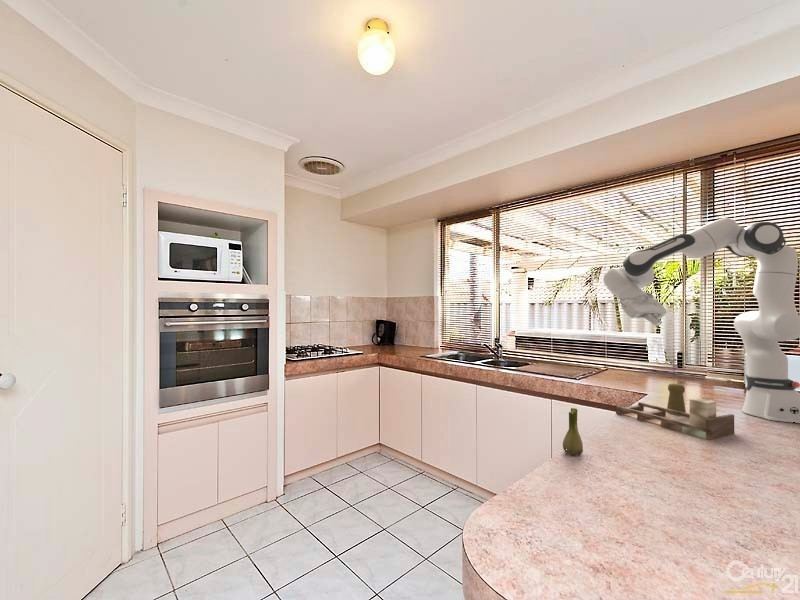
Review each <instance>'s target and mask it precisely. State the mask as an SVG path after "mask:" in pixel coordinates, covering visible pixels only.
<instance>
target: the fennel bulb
mask: <svg viewBox="0 0 800 600" xmlns="http://www.w3.org/2000/svg"><path fill="white" fill-rule="evenodd" d="M579 432H580V431H579V429H578V408H576V407H575V408H574V407H573V408H570V411H569V412H568V430H567V432H566V434H565V435H564V438H563V441H562V448H563V451H564V450H565V451H564V452H565V453H566V454H568V455H570V456H580V455H582V454H583V452H584V447H583V440H582V437H581V435H580V433H579ZM566 449H567V450H566Z"/></svg>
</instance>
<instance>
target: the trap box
mask: <svg viewBox="0 0 800 600" xmlns="http://www.w3.org/2000/svg"><path fill="white" fill-rule="evenodd" d="M645 408H649V409H653V411H646V410H644V409H645ZM667 412H669V413H668V414H670V413H673V414H672V415H674V414H677V415H676V417H670V416H667ZM615 415H619V416H626V417H628V418H632V419H635V420H637V421H639V420H640V422H647V423H650V424H654V425H657V426H660V428H661V427H662V428H665V429H669V430H673V431H676V432H679V433H683V434H687V435H690V436H694V437H698V438H702V439H705V440H708V441H711V440H714V439H715V440H716V439H720V438H722V437H726V436H727V437H728V436H732V435H735V414H733V413H729V414H725V415H724V414H723V415H719V416H716V417H713V418H708V419H706V428H704V427H700V426H696V425H692V424H690V413H689V412H686V413H684V412H680V411H675V410H671V409H667V408H665V407H661V406H657V405H653V404H650V403H645V402H637V404H636V405H630V406H629V405H628V406H625V407H624V406H620V405H615ZM677 416H678V417H677Z"/></svg>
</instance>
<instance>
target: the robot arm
mask: <svg viewBox="0 0 800 600" xmlns="http://www.w3.org/2000/svg"><path fill="white" fill-rule="evenodd" d="M786 243H787V241H786V239H785V237H784V232H783V230H782V228H781V227H780V226H779V225H778V224H776V223H775V222H769V221H760V222H755V223H753V224H751V225H748V226H746V227H742V226H740V225H739V224H738V223H737V221H735V220H733V218H732V219H731V218H729V217H723V218H720V219H716V220H714V221H711V222H709V223H706V224H704V225H703V226H700V227H698V228H696V229H694V230H692V231H690V232H687V233H682V234H679V235H675V236H672V237H670V238H667V239H665V240H663V241H661V242H659V243H656V244H654V245H651V246H649V247H646V248H642V249H637V250H634V251H630V252H629V253H628V254H627V255H625V257H624V259H622V260H623V261H622V266H623V267H611V268H609V269H608V270H607V271H606V273H605V274H604V275H603V279H602V280H603V284H604V285H605V287H606V288H607V289H608V290H609V291H610V293H611V294H612V295H614V296H615V297H616V298H617V299H618V303H619V304H620V306H621V307H620V308H621V309H622V310H623V311H624V313H625V314H626V315H627V316H628V318H631V319H645V320H646V321H648V322H650V323H651V324H652V325H653V326H660V325H661V324H663V322H662V320H661V319H662V318H663V317H665V316H666V315H667V313H668V311H667V309H666V308H665V307H664V306H663V305H662V304H661V303H660V302H659V300H657V299H655V296H654V295H653V294H652V293H649V292H647V291H644V290H643V289H642V288H645V287H648V286H649V285H651V284H652V283H653V282H654V281H655V280H654V279H655V270H654V265H655V264H656V263H658V261H661V260H663V259H665V258H668V257H670V256H673V255H675V254H678V253H679V254H683V255H684V256H686V257H688V258H691V259H701V258H703V257H707V256H710V255H711V254H713V253H715V252H717V251H718V250H721V249H723V248H725V249H727V250H729V252H730V253H731V254H733V255H735V256H738V257H741V258H742V257H746V258H747V257H753V256H754V257H755V260H756V263H757V264H756V265H757V267H756V272H755V277H754V282H753V289H752V294H753V296H754V297H755V298H756V300H757V304H758V310H750V311H745V312H743V313H740V314H738V315H737V316H736V317H735V318H734V320H733V328H734V330H735V331H736V332H737V333H738V334H739V336H740V338H741V340H742V343H743V346H744V349H745V353H746V367H747V368H746V369H747V373H746V375H745V379H744V381H745V382H744V384H745V389H746V393H745V399H744V403H743V407H742V409H741V412H742V413H745V414H747V415H750V416H754V417H759V418H762V419H765V420H769V421H774V422H785V423H793V422H795V424H796V423H797V424H800V392H799V391H798V390H796V389H799V388H800V383H799V382H798V381H794V380H791V379H790V378H789V358H788V356H787V355H786V354H785V353H784V351H782V348H781V346H780V344H779V342H789V341H795V340H797V339H800V315H799V313H798V312H797V308H796V303H795V290H796V289H795V288H796V283H797V282H796V281H797V278H798V277H797V276H798V270H799V269H798V268H799V267H798V266H799V259H798V258H799V257H798V252H797V250H796V249H795V248H794V247H792V246H790V245H786Z"/></svg>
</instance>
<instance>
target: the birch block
mask: <svg viewBox="0 0 800 600" xmlns="http://www.w3.org/2000/svg"><path fill="white" fill-rule="evenodd" d="M689 414H690V424H692V425H696V426H700V427H704V428H706V419H708V418H713V417H717V401H715V400H711V399H705V398H701V397H695V398H690V399H689Z"/></svg>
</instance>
